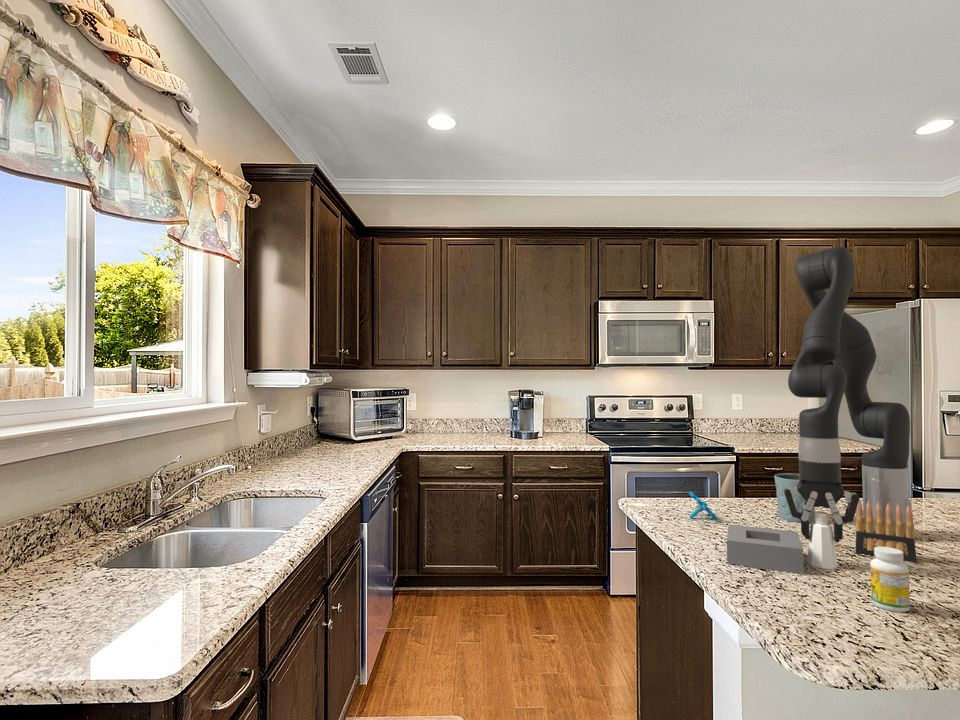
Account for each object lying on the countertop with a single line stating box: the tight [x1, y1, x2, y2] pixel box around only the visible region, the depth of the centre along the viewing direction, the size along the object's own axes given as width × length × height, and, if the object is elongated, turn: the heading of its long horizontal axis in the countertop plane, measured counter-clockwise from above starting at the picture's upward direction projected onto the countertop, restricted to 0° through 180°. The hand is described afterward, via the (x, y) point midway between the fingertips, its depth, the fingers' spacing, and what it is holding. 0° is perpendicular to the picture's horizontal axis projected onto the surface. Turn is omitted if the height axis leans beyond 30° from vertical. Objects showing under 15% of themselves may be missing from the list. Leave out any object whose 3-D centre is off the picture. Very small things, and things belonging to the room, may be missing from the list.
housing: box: [726, 523, 805, 575], centre depth 117 cm, size 14×14×5 cm
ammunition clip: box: [854, 499, 918, 564], centre depth 119 cm, size 11×2×12 cm, turn 55°
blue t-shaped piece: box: [688, 491, 719, 521], centre depth 152 cm, size 11×6×10 cm
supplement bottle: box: [869, 547, 911, 613], centre depth 93 cm, size 5×5×10 cm
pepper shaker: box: [806, 510, 838, 570], centre depth 114 cm, size 5×5×11 cm
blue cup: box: [773, 472, 816, 524], centre depth 150 cm, size 10×10×12 cm
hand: (821, 539), depth 114 cm, fingers open, 4 cm apart
